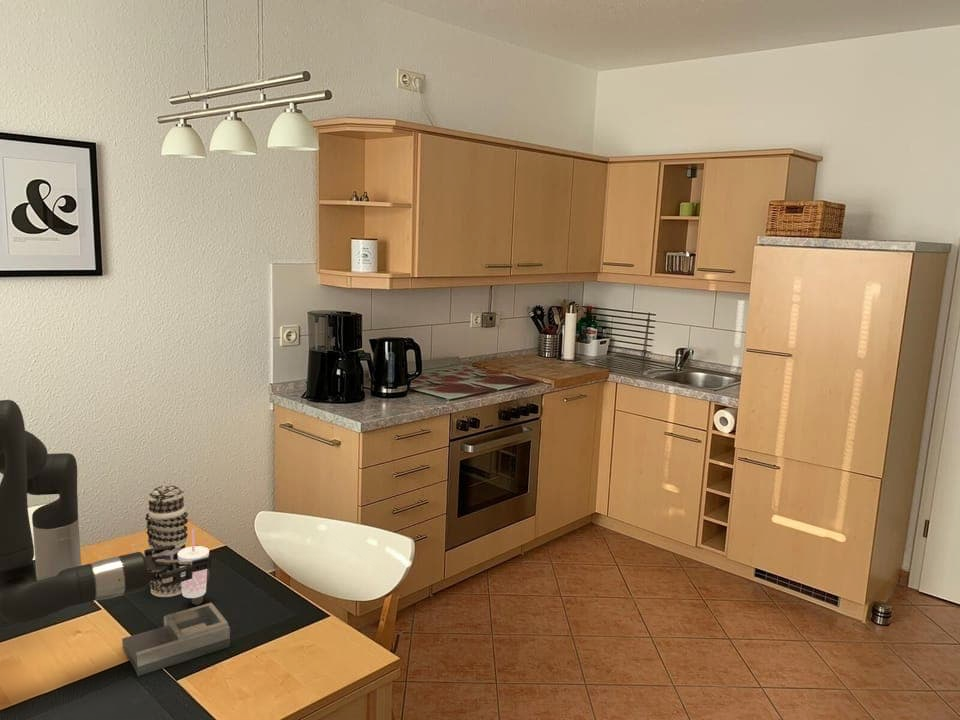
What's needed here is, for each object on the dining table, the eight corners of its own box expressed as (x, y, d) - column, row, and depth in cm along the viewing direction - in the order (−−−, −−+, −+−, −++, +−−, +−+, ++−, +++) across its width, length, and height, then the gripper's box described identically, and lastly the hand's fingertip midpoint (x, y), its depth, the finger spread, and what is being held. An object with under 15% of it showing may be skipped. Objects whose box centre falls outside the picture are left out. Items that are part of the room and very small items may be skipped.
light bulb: (201, 612, 168) (200, 570, 166) (179, 608, 169) (177, 567, 167) (215, 600, 174) (213, 560, 172) (193, 596, 175) (192, 557, 173)
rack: (122, 647, 154) (121, 625, 153) (210, 621, 165) (210, 600, 164) (137, 676, 144) (136, 652, 143) (230, 646, 155) (229, 624, 154)
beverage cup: (216, 590, 156) (215, 527, 154) (193, 602, 151) (192, 537, 148) (194, 583, 159) (193, 521, 156) (171, 595, 153) (170, 531, 151)
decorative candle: (155, 602, 172) (150, 499, 167) (143, 586, 179) (139, 487, 174) (195, 591, 177) (192, 491, 173) (183, 575, 184) (179, 479, 180)
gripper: (126, 572, 138) (217, 551, 149) (108, 544, 149) (194, 527, 160) (128, 609, 140) (217, 586, 150) (110, 579, 151) (194, 560, 161)
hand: (205, 556), depth 155 cm, fingers closed on beverage cup, 6 cm apart
